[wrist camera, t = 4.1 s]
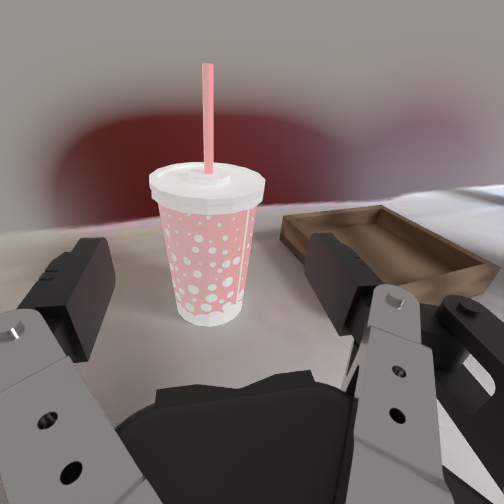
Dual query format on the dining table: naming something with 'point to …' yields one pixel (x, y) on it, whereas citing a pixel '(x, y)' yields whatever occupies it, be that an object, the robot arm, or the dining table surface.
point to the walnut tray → (396, 251)
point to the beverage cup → (207, 226)
